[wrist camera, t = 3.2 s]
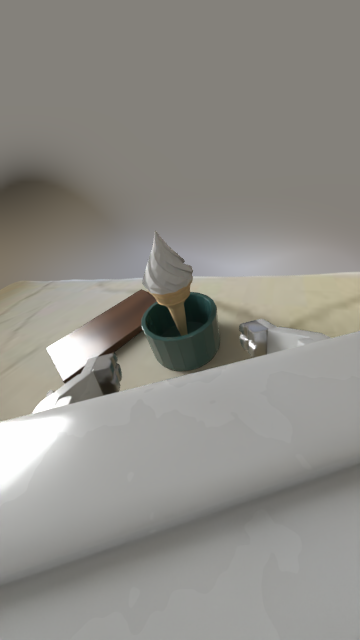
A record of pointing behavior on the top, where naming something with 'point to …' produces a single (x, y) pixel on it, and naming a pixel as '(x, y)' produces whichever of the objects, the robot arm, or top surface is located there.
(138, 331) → the board
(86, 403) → the robot arm
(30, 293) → the top surface
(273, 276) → the top surface
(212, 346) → the cup
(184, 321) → the ice cream cone
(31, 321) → the top surface
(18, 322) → the top surface
